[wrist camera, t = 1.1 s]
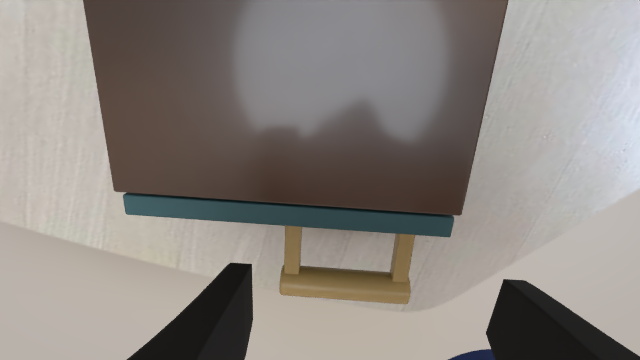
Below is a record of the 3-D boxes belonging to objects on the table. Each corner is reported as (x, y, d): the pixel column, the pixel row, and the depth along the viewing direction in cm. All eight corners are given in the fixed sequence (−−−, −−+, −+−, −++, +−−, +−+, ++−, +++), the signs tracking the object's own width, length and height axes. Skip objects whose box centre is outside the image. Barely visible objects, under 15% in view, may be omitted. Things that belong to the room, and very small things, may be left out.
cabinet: (408, 149, 20) (462, 216, 11) (206, 136, 20) (113, 192, 12) (437, -49, 16) (545, -163, 8) (195, -61, 17) (51, -185, 8)
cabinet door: (394, 241, 22) (427, 346, 14) (211, 228, 22) (142, 324, 14) (407, 154, 20) (455, 217, 12) (206, 141, 20) (121, 194, 12)
